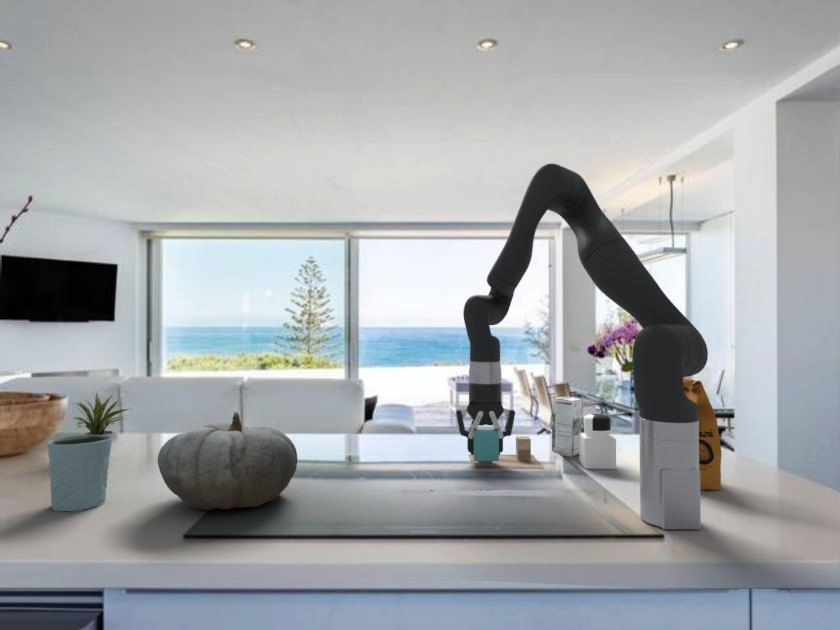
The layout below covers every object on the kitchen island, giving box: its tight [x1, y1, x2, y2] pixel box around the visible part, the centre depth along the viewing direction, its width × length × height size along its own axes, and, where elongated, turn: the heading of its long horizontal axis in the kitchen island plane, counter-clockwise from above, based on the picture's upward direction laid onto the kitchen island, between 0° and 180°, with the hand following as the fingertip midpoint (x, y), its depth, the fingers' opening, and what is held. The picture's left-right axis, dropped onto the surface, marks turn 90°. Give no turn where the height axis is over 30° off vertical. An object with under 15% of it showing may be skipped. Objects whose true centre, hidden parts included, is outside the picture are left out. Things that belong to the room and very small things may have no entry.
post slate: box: [478, 461, 492, 466], centre depth 130 cm, size 3×3×5 cm
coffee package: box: [683, 377, 722, 491], centre depth 118 cm, size 10×12×22 cm
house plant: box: [70, 392, 134, 452], centre depth 139 cm, size 14×14×16 cm
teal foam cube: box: [472, 427, 499, 461], centre depth 130 cm, size 6×6×7 cm
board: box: [468, 435, 546, 470], centre depth 133 cm, size 14×16×6 cm
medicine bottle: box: [578, 413, 617, 470], centre depth 133 cm, size 7×7×12 cm
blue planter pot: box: [47, 434, 113, 512], centre depth 104 cm, size 10×10×12 cm
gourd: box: [157, 411, 298, 511], centre depth 106 cm, size 25×25×17 cm
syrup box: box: [551, 396, 583, 458], centre depth 145 cm, size 6×6×14 cm
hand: (485, 453), depth 130 cm, fingers closed on teal foam cube, 5 cm apart
